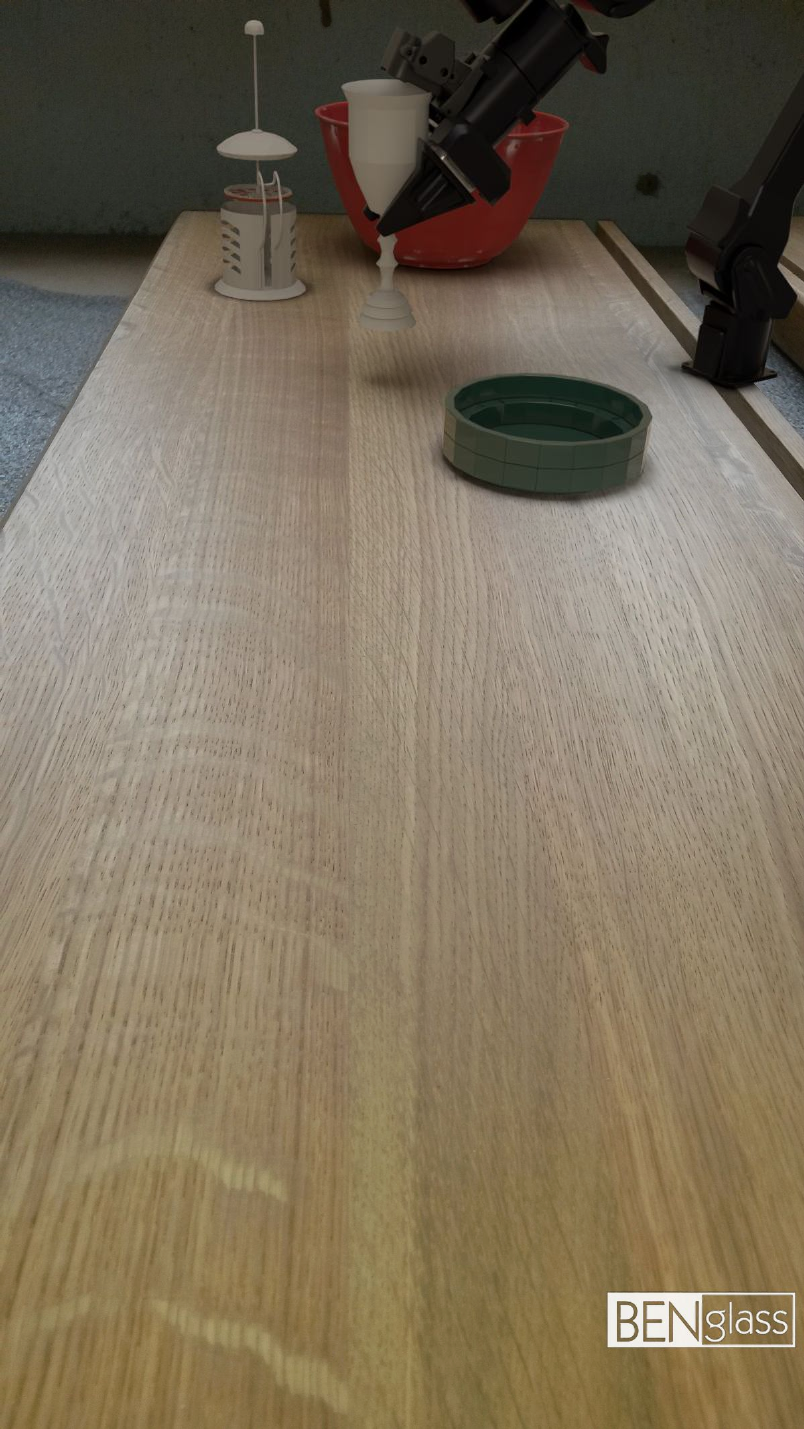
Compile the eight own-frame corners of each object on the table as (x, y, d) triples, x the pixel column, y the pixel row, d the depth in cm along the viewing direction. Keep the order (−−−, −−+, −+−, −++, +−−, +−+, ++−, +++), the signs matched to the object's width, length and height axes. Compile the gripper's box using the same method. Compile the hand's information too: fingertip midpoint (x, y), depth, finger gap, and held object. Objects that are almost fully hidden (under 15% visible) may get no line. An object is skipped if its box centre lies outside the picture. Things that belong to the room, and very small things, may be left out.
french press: (293, 273, 136) (291, 16, 122) (321, 302, 127) (322, 27, 113) (206, 277, 133) (193, 14, 119) (227, 307, 124) (217, 26, 110)
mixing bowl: (338, 221, 158) (340, 89, 150) (557, 238, 156) (572, 104, 147) (292, 275, 135) (291, 122, 126) (549, 296, 132) (566, 141, 124)
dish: (550, 411, 102) (556, 361, 100) (685, 473, 92) (695, 420, 90) (402, 445, 95) (404, 392, 92) (531, 517, 84) (537, 460, 82)
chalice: (424, 307, 107) (431, 79, 96) (433, 334, 101) (442, 96, 91) (341, 308, 106) (338, 78, 95) (345, 336, 101) (343, 95, 90)
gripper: (419, -23, 98) (285, 128, 102) (480, -5, 83) (320, 171, 87) (506, 87, 104) (376, 226, 108) (577, 123, 89) (423, 282, 93)
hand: (372, 224), depth 99 cm, fingers closed on chalice, 5 cm apart
